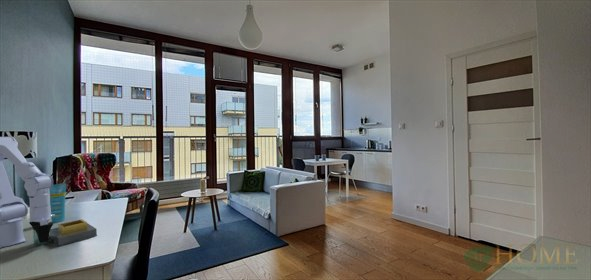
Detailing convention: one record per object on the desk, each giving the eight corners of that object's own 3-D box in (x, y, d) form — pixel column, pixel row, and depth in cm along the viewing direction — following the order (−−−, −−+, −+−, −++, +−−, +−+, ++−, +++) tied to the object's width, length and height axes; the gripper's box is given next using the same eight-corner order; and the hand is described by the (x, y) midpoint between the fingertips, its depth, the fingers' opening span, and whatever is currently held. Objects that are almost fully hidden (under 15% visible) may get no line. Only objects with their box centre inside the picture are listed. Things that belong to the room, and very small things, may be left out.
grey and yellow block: (58, 246, 98) (58, 232, 98) (49, 236, 109) (49, 223, 109) (96, 235, 107) (96, 223, 107) (84, 227, 118) (84, 216, 118)
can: (35, 247, 97) (34, 232, 97) (33, 244, 100) (32, 229, 100) (50, 243, 101) (50, 228, 101) (48, 240, 104) (47, 226, 104)
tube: (47, 223, 126) (45, 185, 126) (50, 221, 130) (48, 184, 130) (67, 220, 130) (65, 183, 130) (69, 218, 134) (67, 182, 134)
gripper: (57, 206, 99) (59, 240, 99) (50, 201, 108) (51, 232, 108) (31, 210, 93) (33, 246, 94) (26, 205, 102) (28, 238, 102)
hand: (41, 239), depth 100 cm, fingers open, 7 cm apart
